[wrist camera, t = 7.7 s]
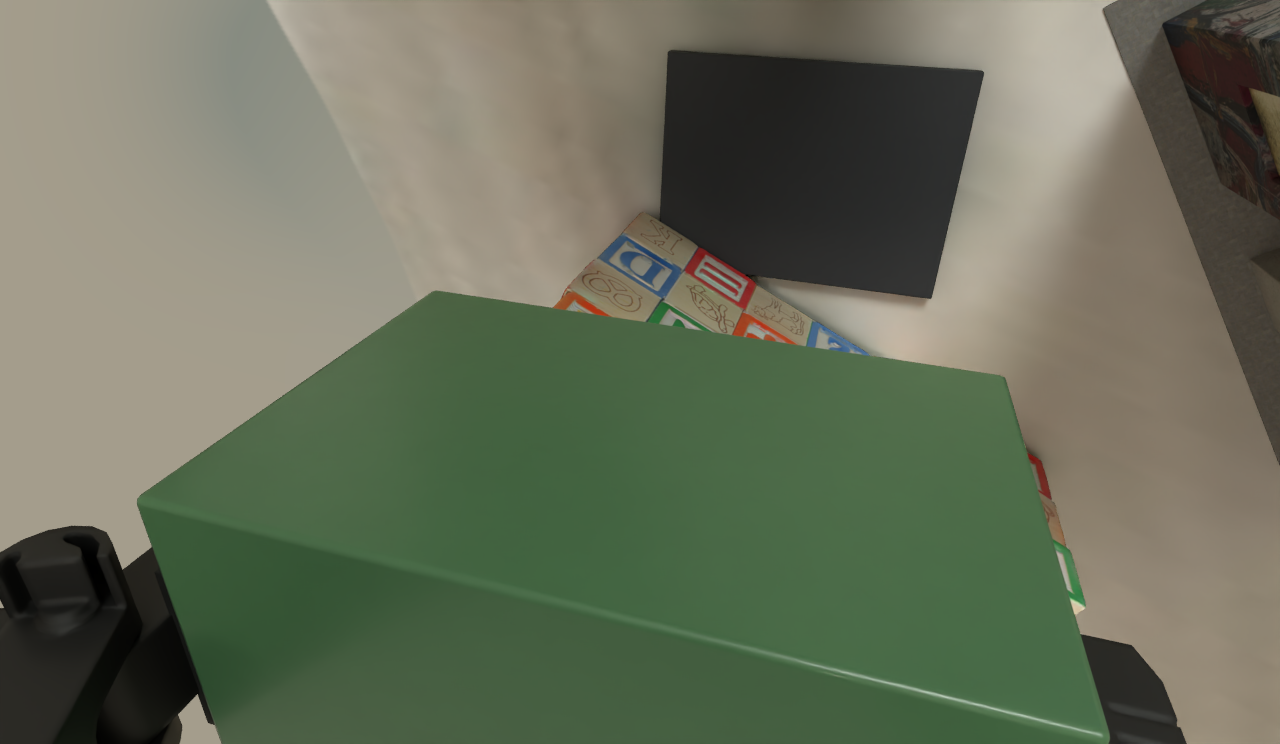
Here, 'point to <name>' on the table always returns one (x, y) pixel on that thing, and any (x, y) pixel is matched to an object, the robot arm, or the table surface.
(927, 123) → the rubber mat
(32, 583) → the robot arm
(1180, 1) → the bookend
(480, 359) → the green block
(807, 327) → the stack of blocks
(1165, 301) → the table surface
